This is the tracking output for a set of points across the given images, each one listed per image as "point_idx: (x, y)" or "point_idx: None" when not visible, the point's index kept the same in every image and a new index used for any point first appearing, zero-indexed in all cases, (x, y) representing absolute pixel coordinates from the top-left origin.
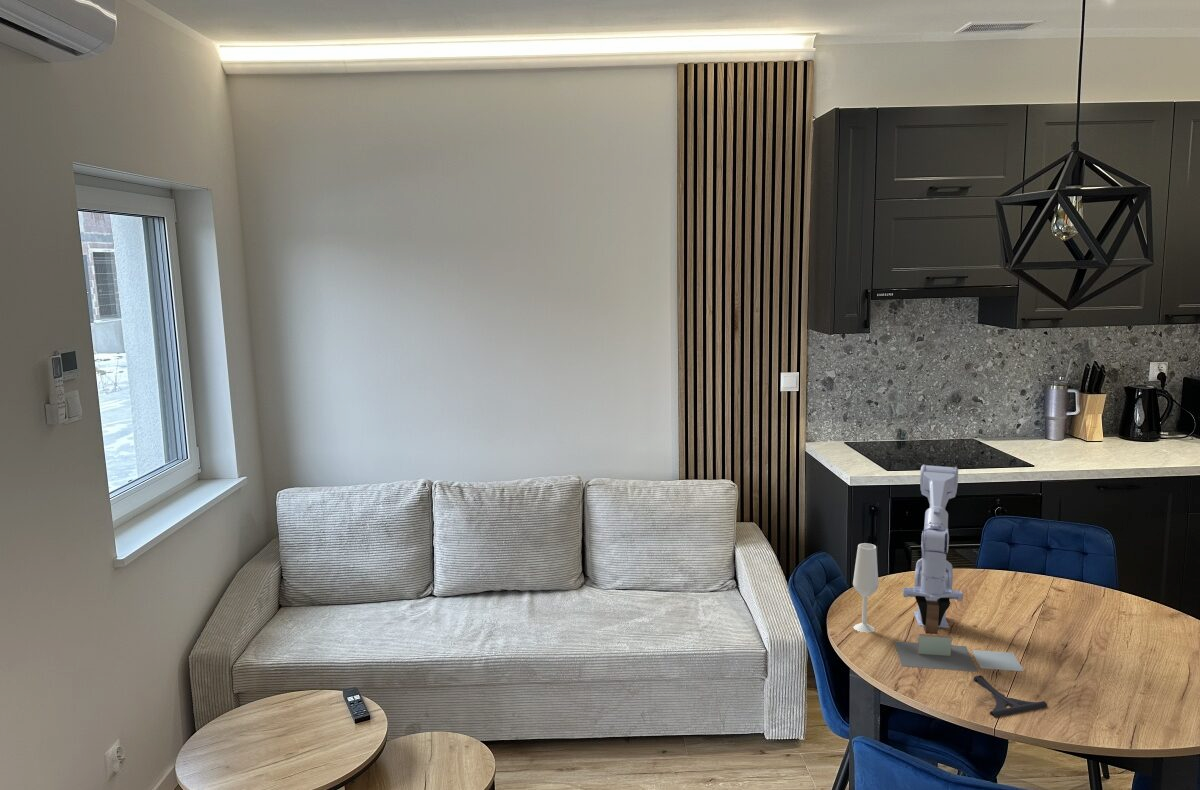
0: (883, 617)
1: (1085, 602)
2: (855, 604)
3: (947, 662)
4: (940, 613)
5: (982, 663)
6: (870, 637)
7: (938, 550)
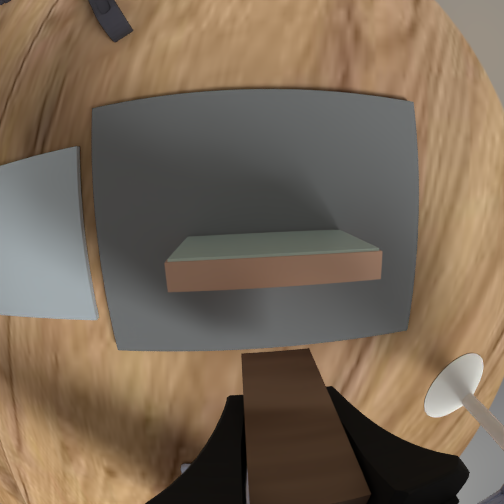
0: None
1: None
2: None
3: (210, 162)
4: (232, 453)
5: (64, 195)
6: (459, 341)
7: None
